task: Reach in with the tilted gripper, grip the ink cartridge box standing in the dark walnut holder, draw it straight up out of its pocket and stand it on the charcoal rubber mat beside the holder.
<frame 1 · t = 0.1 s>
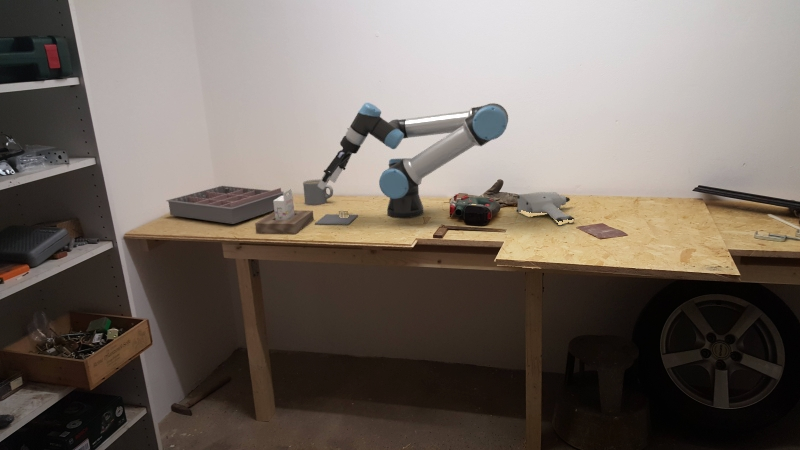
hand: (326, 184, 234), 15 cm above the table, tool tilted 35°, fingers open, 13 cm apart
rubber mat: (336, 220, 239), on the table
impact wrench: (557, 217, 230), on the table
coffee mug: (319, 203, 270), on the table
organizer tray: (228, 214, 259), on the table
cartridge holder: (285, 226, 233), on the table
ink cartridge box: (286, 227, 233), resting in cartridge holder
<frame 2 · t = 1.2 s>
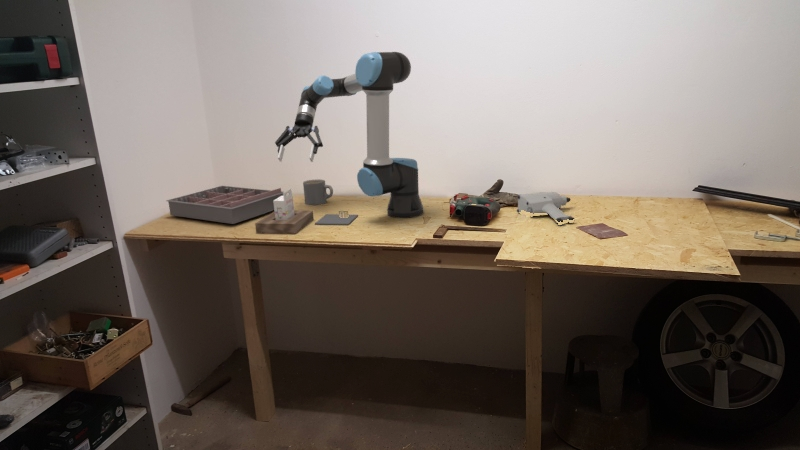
hand: (295, 159, 240), 24 cm above the table, tool tilted 45°, fingers open, 13 cm apart
nothing on the table moved.
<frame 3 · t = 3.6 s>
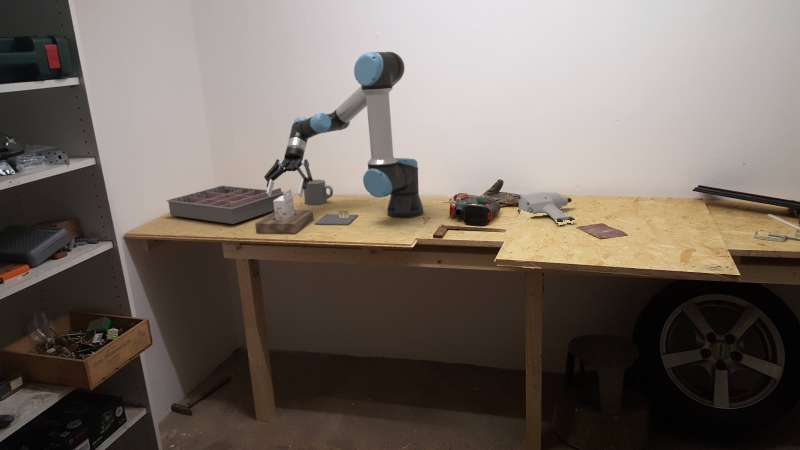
hand: (284, 195, 234), 12 cm above the table, tool tilted 45°, fingers open, 13 cm apart
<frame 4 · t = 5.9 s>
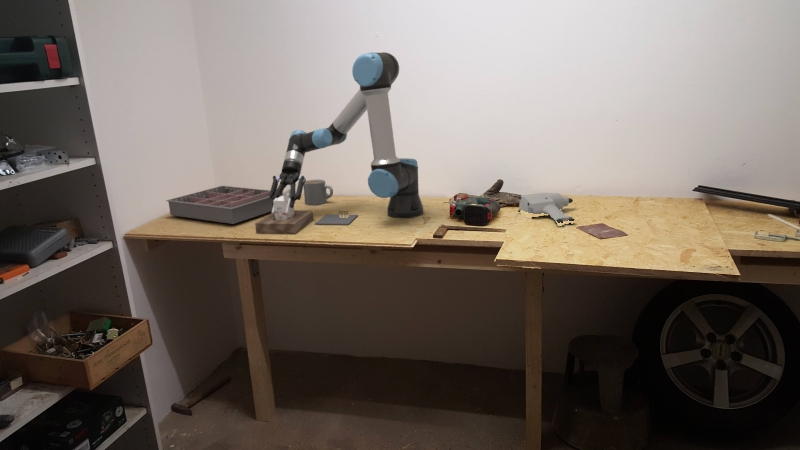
hand: (280, 214, 228), 6 cm above the table, tool tilted 45°, fingers closed on ink cartridge box, 5 cm apart
ink cartridge box: (285, 227, 233), resting in cartridge holder, touching gripper
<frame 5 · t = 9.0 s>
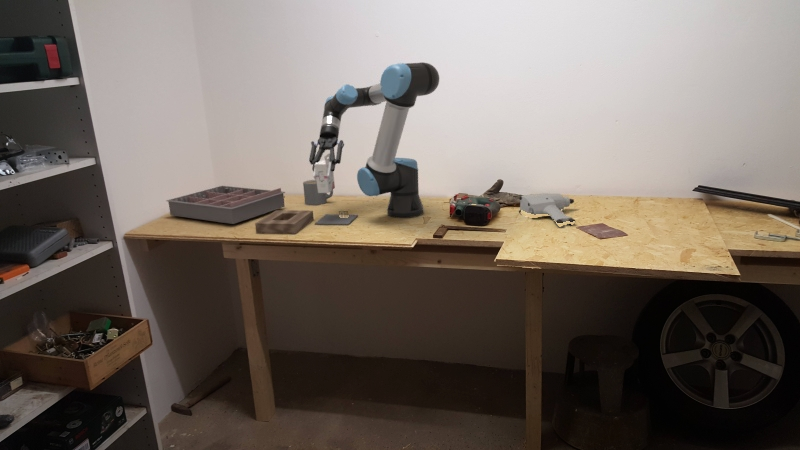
hand: (322, 177, 230), 19 cm above the table, tool tilted 45°, fingers closed on ink cartridge box, 5 cm apart
ink cartridge box: (326, 191, 235), point 12 cm above the table, touching gripper
when the fingers open (8 cm above the table, at t = 12.0 s): ink cartridge box drops 1 cm, resting on rubber mat.
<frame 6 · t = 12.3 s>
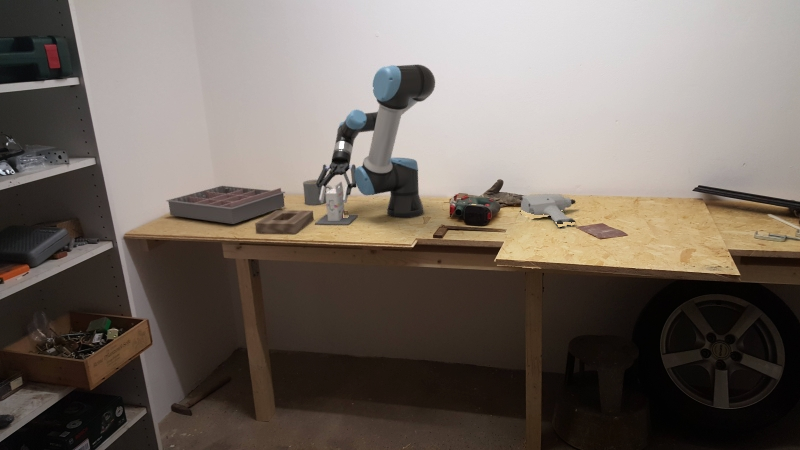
hand: (332, 201, 233), 9 cm above the table, tool tilted 45°, fingers open, 9 cm apart
ink cartridge box: (336, 219, 239), resting on rubber mat
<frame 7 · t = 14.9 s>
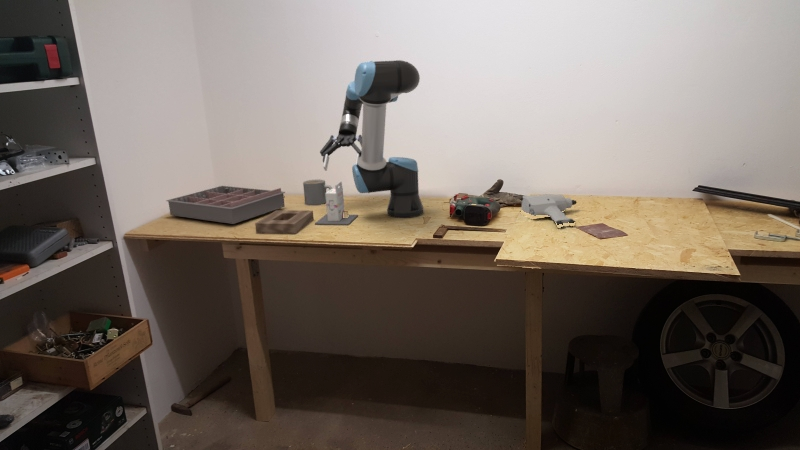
hand: (340, 168, 242), 19 cm above the table, tool tilted 45°, fingers open, 13 cm apart
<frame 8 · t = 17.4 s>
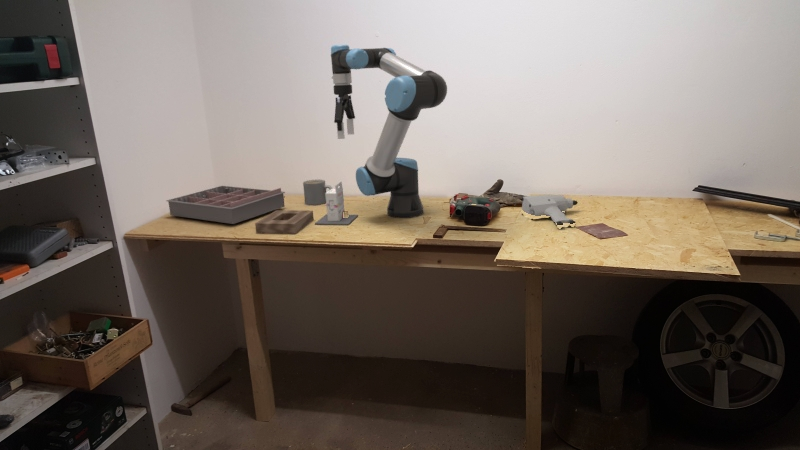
hand: (346, 136, 246), 32 cm above the table, tool pointing down, fingers open, 13 cm apart
at the end: ink cartridge box inside the target area on the rubber mat (0.3 cm from its centre), point 0.4 cm above the rubber mat's base; ink cartridge box tilted 0°; the gripper is holding nothing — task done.
